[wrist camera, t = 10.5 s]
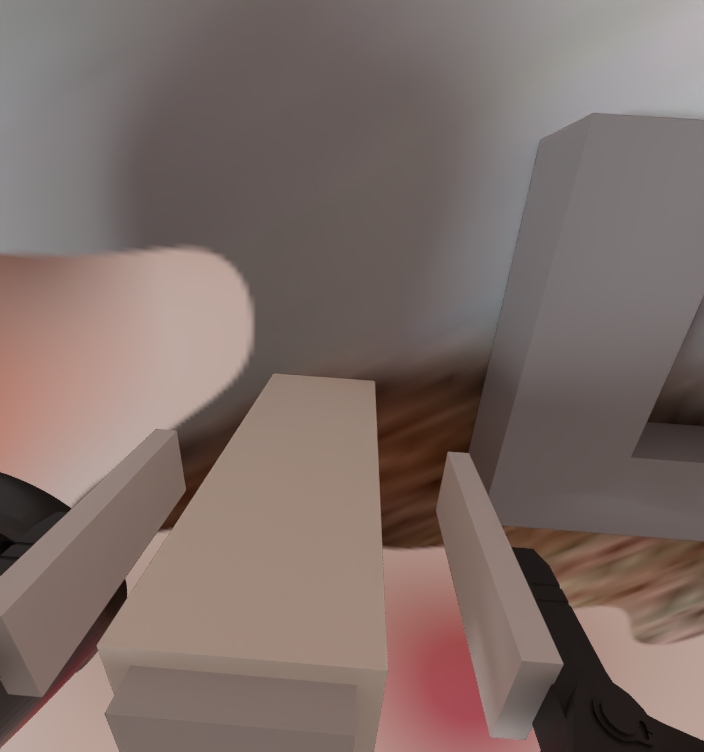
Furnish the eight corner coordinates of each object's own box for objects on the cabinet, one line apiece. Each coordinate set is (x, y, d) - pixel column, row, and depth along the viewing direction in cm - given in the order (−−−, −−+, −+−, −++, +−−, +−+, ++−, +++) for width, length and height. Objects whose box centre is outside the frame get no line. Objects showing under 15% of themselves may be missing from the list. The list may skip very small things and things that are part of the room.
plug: (275, 457, 17) (126, 827, 7) (273, 373, 16) (65, 693, 5) (366, 464, 17) (364, 850, 7) (374, 380, 15) (390, 722, 5)
